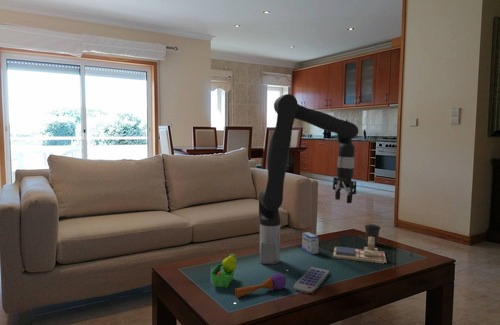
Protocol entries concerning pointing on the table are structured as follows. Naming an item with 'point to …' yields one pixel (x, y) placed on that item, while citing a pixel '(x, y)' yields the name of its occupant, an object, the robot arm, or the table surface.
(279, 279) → the kendama
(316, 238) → the medicine box
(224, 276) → the fruit basket
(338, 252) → the ink pad
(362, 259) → the stamping board
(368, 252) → the stamp
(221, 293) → the table surface
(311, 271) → the remote control
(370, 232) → the coffee cup
